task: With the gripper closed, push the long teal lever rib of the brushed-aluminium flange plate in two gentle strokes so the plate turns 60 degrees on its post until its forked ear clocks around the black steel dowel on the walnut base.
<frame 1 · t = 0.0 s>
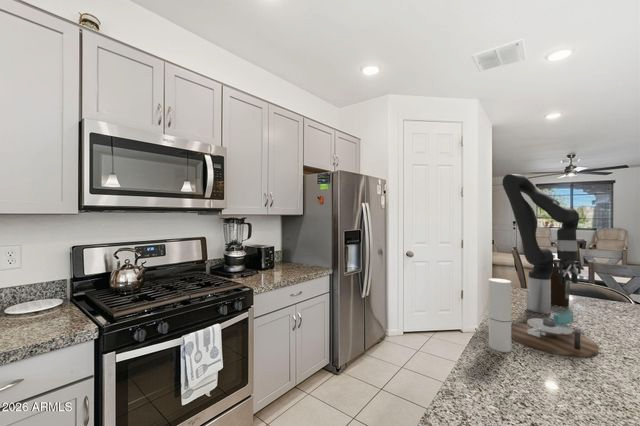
hand: (568, 283, 136), 17 cm above the countertop, tool pointing down, fingers open, 8 cm apart
base plate: (549, 339, 113), on the countertop
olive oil: (557, 304, 160), on the countertop
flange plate: (551, 322, 114), point 7 cm above the countertop, hinge at 0.0°
cylindrical container: (499, 347, 107), on the countertop
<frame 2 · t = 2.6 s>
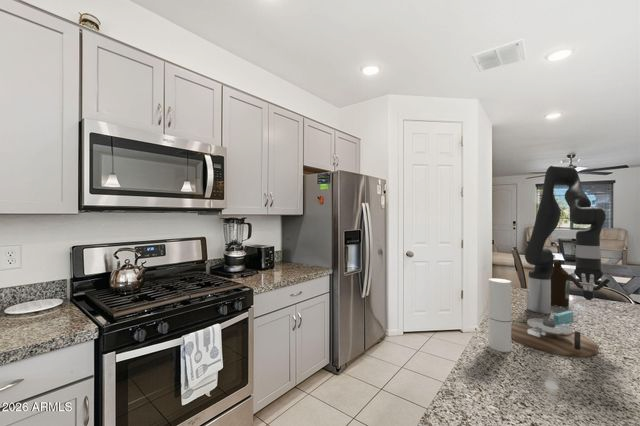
hand: (588, 299, 114), 16 cm above the countertop, tool pointing down, fingers closed
nothing on the countertop moved.
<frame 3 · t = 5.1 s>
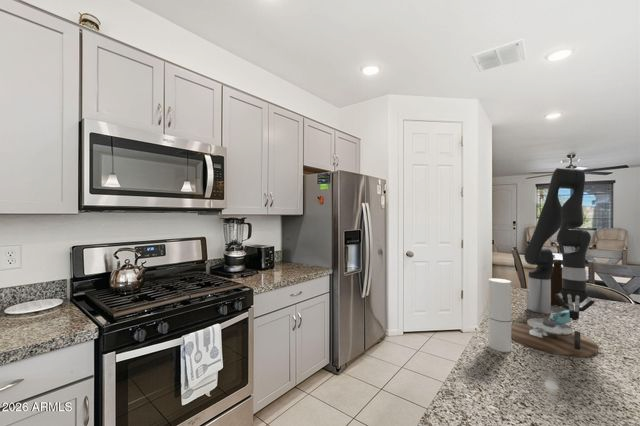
hand: (574, 319, 118), 7 cm above the countertop, tool pointing down, fingers closed
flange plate: (551, 321, 114), point 7 cm above the countertop, hinge at 2.8°, touching gripper
everything else where it was.
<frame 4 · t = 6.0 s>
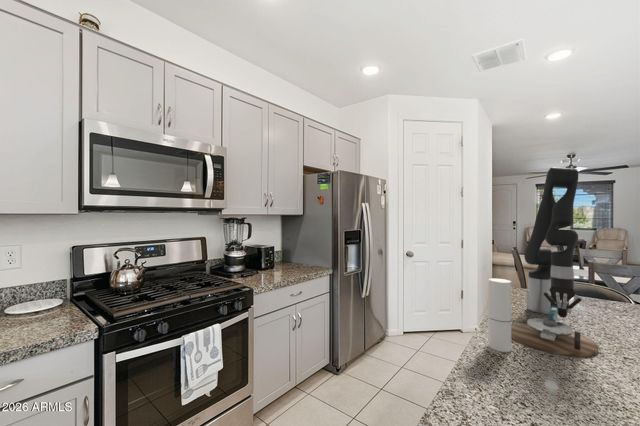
hand: (562, 317, 121), 7 cm above the countertop, tool pointing down, fingers closed
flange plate: (549, 321, 115), point 7 cm above the countertop, hinge at 18.5°, touching gripper
everything else where it was.
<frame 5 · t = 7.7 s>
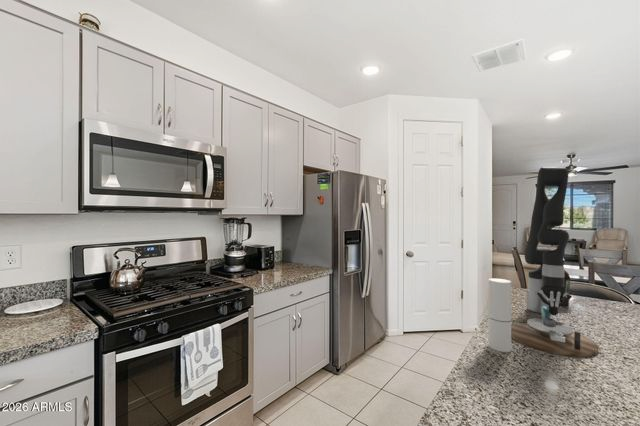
hand: (553, 314, 124), 6 cm above the countertop, tool pointing down, fingers closed
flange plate: (548, 321, 115), point 7 cm above the countertop, hinge at 31.5°, touching gripper
everything else where it was.
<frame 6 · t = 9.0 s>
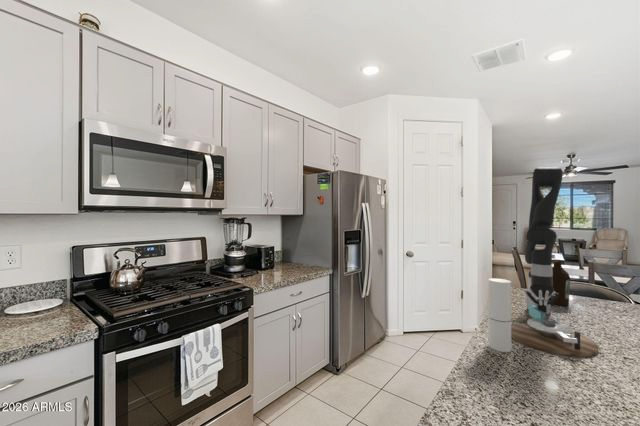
hand: (542, 313, 126), 7 cm above the countertop, tool pointing down, fingers closed
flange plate: (546, 321, 115), point 7 cm above the countertop, hinge at 47.4°, touching gripper
everything else where it was.
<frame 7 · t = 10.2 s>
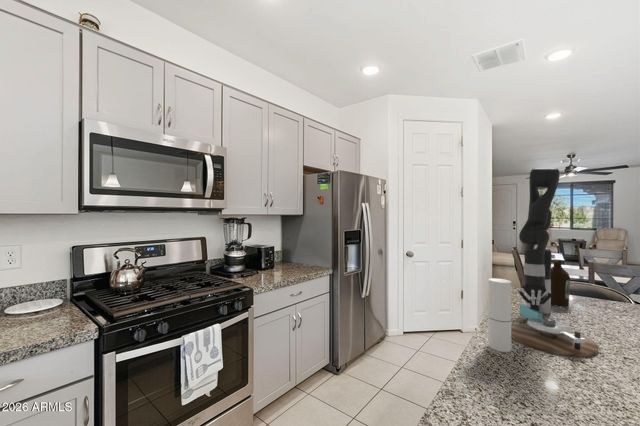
hand: (534, 312, 126), 6 cm above the countertop, tool pointing down, fingers closed
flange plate: (545, 321, 115), point 7 cm above the countertop, hinge at 60.5°, touching gripper
everything else where it was.
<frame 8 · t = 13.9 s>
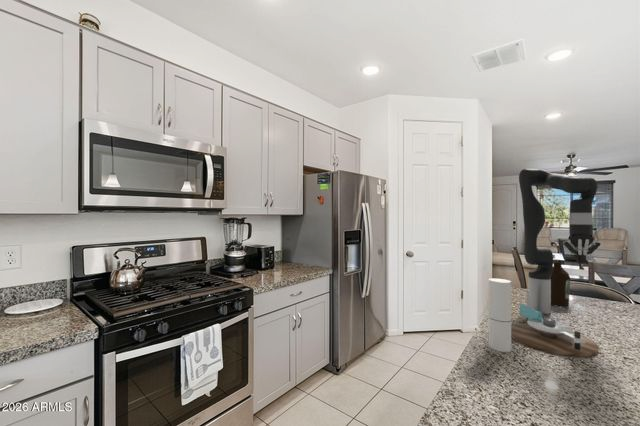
hand: (581, 263, 123), 29 cm above the countertop, tool pointing down, fingers closed
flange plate: (545, 321, 115), point 7 cm above the countertop, hinge at 60.5°
everything else where it was.
at the end: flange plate at +60° (first picture: +0°) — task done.
